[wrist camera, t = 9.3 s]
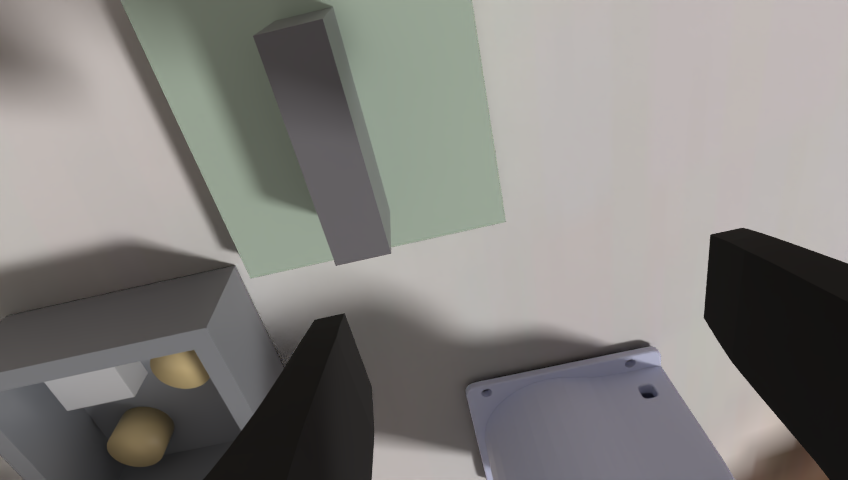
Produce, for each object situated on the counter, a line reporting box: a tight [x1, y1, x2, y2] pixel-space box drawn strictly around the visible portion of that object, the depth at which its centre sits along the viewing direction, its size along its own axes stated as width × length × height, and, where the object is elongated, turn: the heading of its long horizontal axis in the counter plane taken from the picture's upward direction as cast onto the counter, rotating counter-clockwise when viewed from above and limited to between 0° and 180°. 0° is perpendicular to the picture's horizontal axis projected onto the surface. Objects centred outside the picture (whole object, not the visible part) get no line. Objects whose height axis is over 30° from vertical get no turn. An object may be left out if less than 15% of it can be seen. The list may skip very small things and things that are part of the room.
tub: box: [0, 266, 284, 480], centre depth 22 cm, size 10×10×4 cm
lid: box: [120, 0, 506, 278], centre depth 17 cm, size 10×10×5 cm
